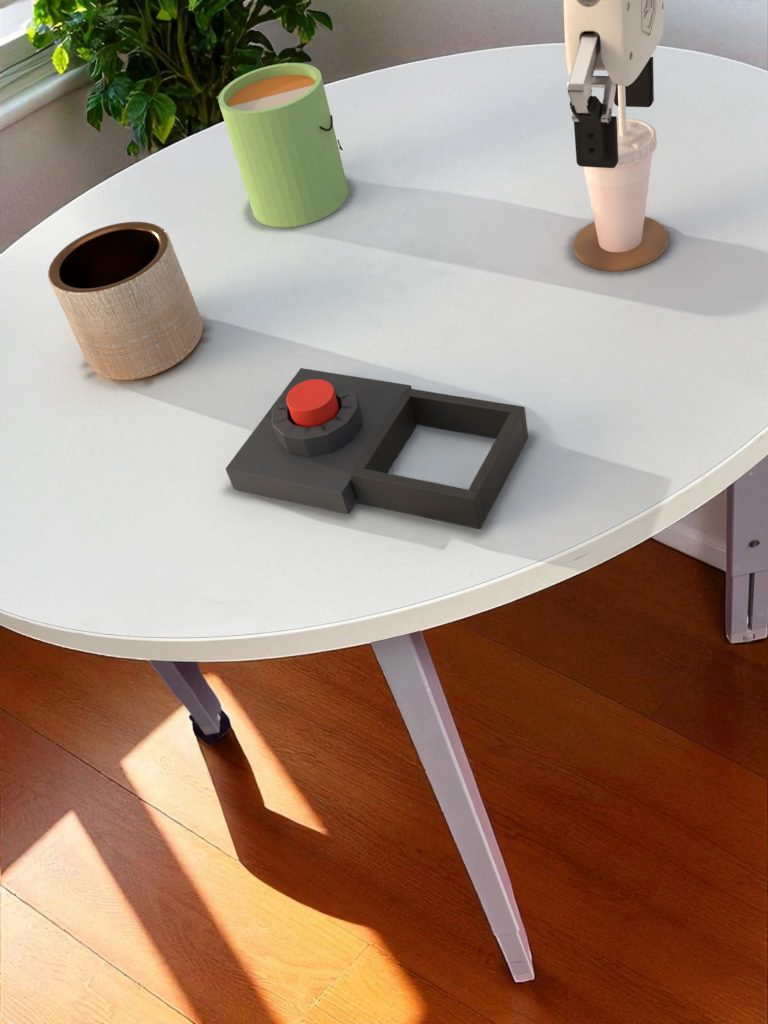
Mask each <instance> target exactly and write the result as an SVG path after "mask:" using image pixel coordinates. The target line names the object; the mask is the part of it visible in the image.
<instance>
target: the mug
mask: <svg viewBox="0 0 768 1024" xmlns="http://www.w3.org/2000/svg"><path fill="white" fill-rule="evenodd" d="M217 102H218V105H219V109H220V112H221V114H222V115H221V116H222V117H223V121H224V124H225V127H226V130H227V134H228V137H229V140H230V144H231V147H232V150H233V153H234V156H235V160H236V162H237V167H238V169H239V173H240V175H241V178H242V183H243V186H244V189H245V192H246V196H247V199H248V202H249V203H250V204H249V205H250V208H251V211H252V215H253V216H254V219H256V221H257V222H259V223H260V224H262V225H264V226H267V227H272V228H295V227H301V226H305V225H310V224H312V223H315V222H317V221H320V220H322V219H324V218H326V217H328V216H330V215H332V214H333V213H334V212H337V210H339V208H340V207H342V205H343V204H345V202H346V201H347V198H348V196H349V186H348V183H347V182H348V181H347V178H346V174H345V170H344V165H343V161H342V157H341V153H340V151H343V148H342V147H343V146H341V143H340V139H337V135H336V131H335V127H334V119H333V115H331V110H330V106H329V101H328V97H327V93H326V89H325V84H324V82H323V76H322V73H321V71H320V69H318V68H317V67H315V66H314V65H311V64H307V63H302V62H285V63H277V64H272V65H266V66H265V67H260V68H257V69H254V70H251V71H249V72H247V73H244V74H242V75H240V76H239V77H237V78H235V79H233V80H232V81H230V82H229V83H228V84H227V85H225V86H224V87H223V89H222V90H221V91H220V93H219V95H218V99H217Z"/></svg>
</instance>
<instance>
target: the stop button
mask: <svg viewBox="0 0 768 1024" xmlns="http://www.w3.org/2000/svg"><path fill="white" fill-rule="evenodd" d="M286 401H287V405H288V408H289V411H290V414H291V417H292V420H293V422H294V423H295V424H296V425H297V426H300V427H306V428H310V427H315V426H320V425H323V424H325V423H327V422H328V421H330V420H332V419H333V418H335V417H336V415H337V414H338V411H339V405H338V402H337V398H336V395H335V392H334V388H333V386H332V385H331V384H330V383H329V382H327V381H325V380H321V379H312V380H307V381H304V382H301V383H299V384H297V385H296V386H294V387H293V388H292V389H291V390H290V391H289V393H288V395H287V398H286Z"/></svg>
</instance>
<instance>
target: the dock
mask: <svg viewBox="0 0 768 1024" xmlns="http://www.w3.org/2000/svg"><path fill="white" fill-rule="evenodd" d="M526 414H527V413H526V407H525V406H522V405H515V404H510V403H509V404H508V403H503V402H497V401H490V400H485V399H477V398H473V397H466V396H460V395H453V394H447V393H441V392H436V391H435V392H434V391H427V390H421V389H415V388H412V389H409V388H405V390H404V391H403V393H402V395H401V396H400V397H399V399H398V401H397V402H396V404H395V405H394V407H393V408H392V410H391V411H390V413H389V414H388V416H387V417H386V419H385V421H384V422H383V424H382V425H381V427H380V428H379V430H378V431H377V433H376V434H375V436H374V438H373V439H372V441H371V442H370V444H369V445H368V447H367V448H366V450H365V451H364V453H363V454H362V456H361V458H360V459H359V461H358V462H357V464H356V465H355V467H354V468H353V470H352V471H351V473H350V477H351V480H352V483H353V487H354V490H355V493H356V497H357V503H358V504H359V505H360V504H361V505H366V506H370V507H375V508H380V509H384V510H390V511H394V512H398V513H402V514H408V515H412V516H417V517H422V518H426V519H431V520H436V521H440V522H445V523H449V524H455V525H459V526H464V527H468V528H474V529H477V530H478V529H479V530H481V528H482V527H483V525H484V523H485V521H486V519H487V518H488V516H489V513H490V512H491V509H492V508H493V507H494V504H495V502H496V501H497V498H498V496H499V494H501V493H500V492H501V491H502V489H503V487H504V485H505V483H506V481H507V479H508V477H509V476H510V474H511V472H512V470H513V468H514V466H515V464H516V462H517V460H518V458H519V457H520V455H521V452H522V451H523V449H524V447H525V445H526V442H527V441H528V439H529V431H528V430H529V429H528V422H527V415H526ZM417 426H421V427H426V428H433V429H439V430H444V431H451V432H456V433H461V434H466V435H473V436H479V437H484V438H490V439H495V440H494V442H493V444H492V446H491V447H490V449H489V451H488V453H487V454H486V456H485V458H484V460H483V461H482V464H481V465H480V467H479V468H478V471H477V473H476V475H475V476H474V478H473V481H472V482H471V484H470V485H469V488H464V487H458V486H453V485H447V484H442V483H438V482H432V481H429V480H423V479H418V478H413V477H407V476H402V475H399V474H393V473H389V471H390V470H391V468H392V467H393V465H394V463H395V462H396V460H397V459H398V456H399V455H400V454H401V452H402V451H403V449H404V447H405V445H407V442H408V441H409V439H410V437H411V436H412V435H413V433H414V431H415V430H416V428H417Z"/></svg>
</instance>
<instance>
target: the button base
mask: <svg viewBox="0 0 768 1024" xmlns="http://www.w3.org/2000/svg"><path fill="white" fill-rule="evenodd" d="M312 379H321V380H325V381H327V382H329V383H330V384H331V385H332V386H333V388H334V392H335V395H336V398H337V402H338V405H339V411H338V414H337V415H336V417H335V418H333V419H332V420H330V421H328V422H327V423H325V424H323V425H320V426H315V427H310V428H306V427H300V426H297V425H296V424H295V423H294V422H293V420H292V417H291V414H290V411H289V408H288V405H287V401H286V398H287V395H288V393H289V391H290V390H291V389H292V388H293V387H294V386H296V385H297V384H299V383H301V382H304V381H307V380H312ZM405 388H409V389H413V387H412V385H410V384H405V383H400V382H399V383H398V382H393V381H387V380H386V381H385V380H381V379H373V378H366V377H361V376H360V377H359V376H355V375H348V374H341V373H335V372H328V371H323V370H315V369H311V368H303V367H300V368H299V370H298V371H297V372H296V374H295V375H294V376H293V377H292V379H291V380H290V382H289V383H288V384H287V386H286V387H285V389H284V390H283V391H282V392H281V394H280V395H279V397H278V398H277V399H276V400H275V402H274V403H273V404H272V405H271V407H270V409H269V410H268V411H267V412H266V413H265V414H264V416H263V417H262V419H261V420H260V422H259V423H258V424H257V425H256V427H255V429H253V431H252V432H251V434H250V435H249V436H248V438H247V439H246V440H245V442H244V443H243V445H242V446H241V447H240V448H239V449H238V451H237V453H236V454H235V455H234V456H233V458H232V459H231V460H230V462H228V464H227V465H226V467H225V471H226V473H227V474H226V475H227V476H228V478H229V481H230V484H231V487H232V489H233V490H236V491H241V492H245V493H250V494H255V495H260V496H264V497H268V498H273V499H277V500H282V501H287V502H290V503H291V502H292V503H295V504H301V505H305V506H309V507H314V508H317V509H318V508H319V509H323V510H327V511H332V512H336V513H340V514H345V515H348V514H349V513H350V512H351V511H352V509H353V507H354V506H355V504H356V503H357V502H358V500H357V497H356V493H355V490H354V487H353V483H352V480H351V477H350V473H351V471H352V470H353V468H354V467H355V465H356V464H357V462H358V461H359V459H360V458H361V456H362V454H363V453H364V451H365V450H366V448H367V447H368V445H369V444H370V442H371V441H372V439H373V438H374V436H375V434H376V433H377V431H378V430H379V428H380V427H381V425H382V424H383V422H384V421H385V419H386V417H387V416H388V414H389V413H390V411H391V410H392V408H393V407H394V405H395V404H396V402H397V401H398V399H399V397H400V396H401V395H402V393H403V391H404V390H405Z"/></svg>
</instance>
